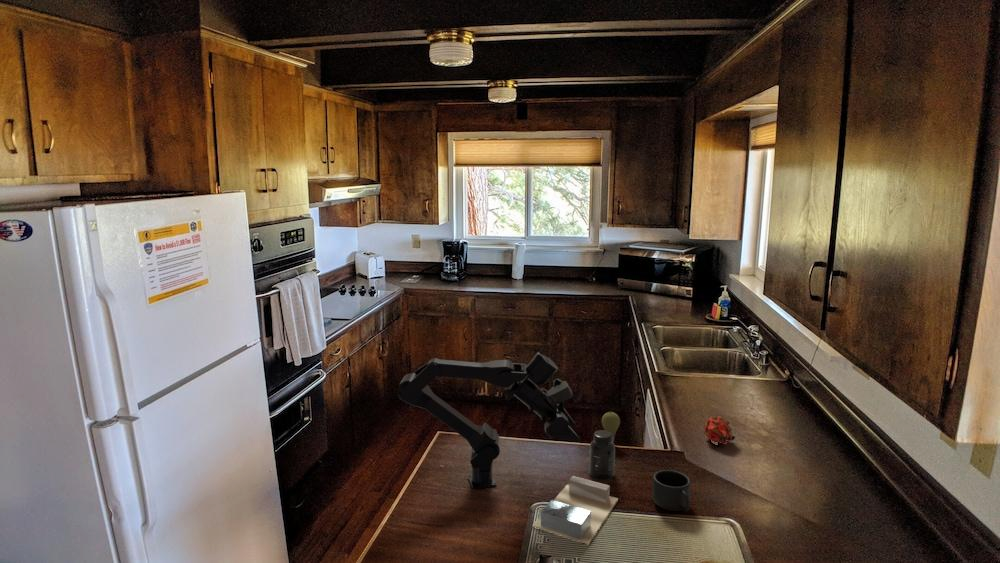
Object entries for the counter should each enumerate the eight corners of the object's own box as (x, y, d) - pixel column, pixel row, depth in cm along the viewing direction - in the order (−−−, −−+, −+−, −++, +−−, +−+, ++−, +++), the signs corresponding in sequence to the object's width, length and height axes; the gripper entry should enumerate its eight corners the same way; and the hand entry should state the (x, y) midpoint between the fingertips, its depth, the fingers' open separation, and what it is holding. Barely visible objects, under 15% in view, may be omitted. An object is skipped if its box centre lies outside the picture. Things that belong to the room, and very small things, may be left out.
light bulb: (597, 443, 177) (598, 412, 175) (607, 437, 181) (608, 407, 179) (613, 448, 173) (614, 417, 171) (622, 442, 177) (623, 412, 175)
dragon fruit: (713, 437, 184) (723, 460, 173) (692, 423, 183) (702, 445, 172) (731, 419, 182) (743, 441, 170) (710, 404, 181) (721, 425, 169)
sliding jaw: (551, 513, 138) (551, 499, 137) (590, 524, 133) (590, 511, 133) (540, 525, 133) (541, 512, 132) (581, 538, 128) (581, 524, 127)
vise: (567, 486, 152) (567, 472, 151) (618, 500, 145) (618, 485, 144) (532, 527, 134) (532, 511, 133) (588, 545, 127) (589, 529, 126)
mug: (645, 497, 146) (646, 472, 145) (676, 492, 149) (677, 467, 147) (671, 524, 135) (672, 496, 134) (704, 518, 137) (705, 491, 136)
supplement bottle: (584, 473, 158) (585, 433, 156) (599, 465, 163) (601, 426, 161) (603, 483, 153) (604, 441, 151) (619, 474, 158) (620, 434, 156)
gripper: (556, 386, 139) (603, 426, 141) (550, 363, 158) (591, 398, 159) (526, 419, 141) (573, 457, 143) (523, 392, 159) (565, 426, 161)
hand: (576, 432), depth 151 cm, fingers open, 9 cm apart
